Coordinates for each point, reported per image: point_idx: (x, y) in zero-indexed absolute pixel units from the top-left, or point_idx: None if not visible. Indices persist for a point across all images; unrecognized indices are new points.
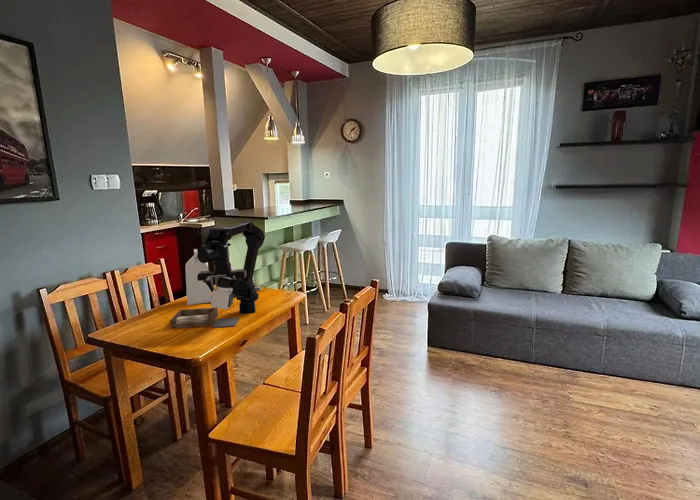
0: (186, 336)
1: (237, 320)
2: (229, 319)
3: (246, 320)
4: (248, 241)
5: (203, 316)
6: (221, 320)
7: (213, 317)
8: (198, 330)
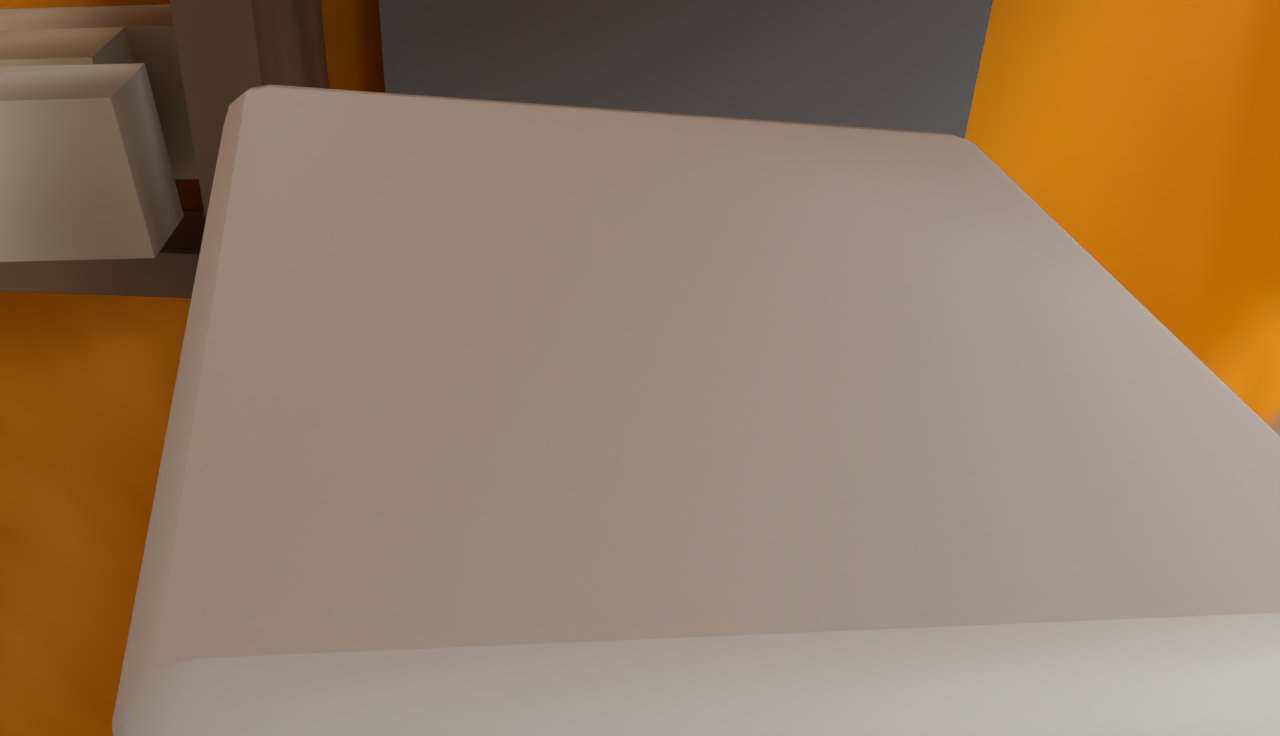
0: (47, 647)
1: (971, 75)
2: (754, 3)
3: (1204, 59)
4: None
5: (37, 252)
6: (537, 40)
7: (286, 19)
8: (147, 443)
